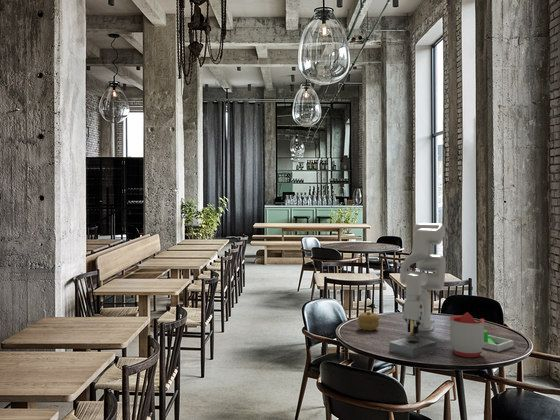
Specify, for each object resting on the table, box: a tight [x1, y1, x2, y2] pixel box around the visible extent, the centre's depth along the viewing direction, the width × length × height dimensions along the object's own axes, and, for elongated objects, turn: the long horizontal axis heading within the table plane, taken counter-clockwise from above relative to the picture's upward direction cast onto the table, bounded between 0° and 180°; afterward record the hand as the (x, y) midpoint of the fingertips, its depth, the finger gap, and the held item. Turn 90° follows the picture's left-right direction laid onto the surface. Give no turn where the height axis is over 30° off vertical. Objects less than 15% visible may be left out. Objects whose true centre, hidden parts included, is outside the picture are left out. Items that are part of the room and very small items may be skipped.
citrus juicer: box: [449, 312, 486, 359], centre depth 261 cm, size 16×17×20 cm
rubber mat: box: [399, 334, 426, 339], centre depth 286 cm, size 10×10×1 cm
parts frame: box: [482, 334, 514, 352], centre depth 277 cm, size 14×20×3 cm
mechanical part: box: [484, 329, 496, 344], centre depth 278 cm, size 12×6×8 cm, turn 175°
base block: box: [388, 336, 437, 359], centre depth 265 cm, size 18×14×4 cm
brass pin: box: [409, 319, 417, 337], centre depth 286 cm, size 3×3×10 cm
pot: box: [357, 311, 380, 332], centre depth 306 cm, size 12×12×10 cm
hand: (412, 332), depth 286 cm, fingers closed on brass pin, 3 cm apart
